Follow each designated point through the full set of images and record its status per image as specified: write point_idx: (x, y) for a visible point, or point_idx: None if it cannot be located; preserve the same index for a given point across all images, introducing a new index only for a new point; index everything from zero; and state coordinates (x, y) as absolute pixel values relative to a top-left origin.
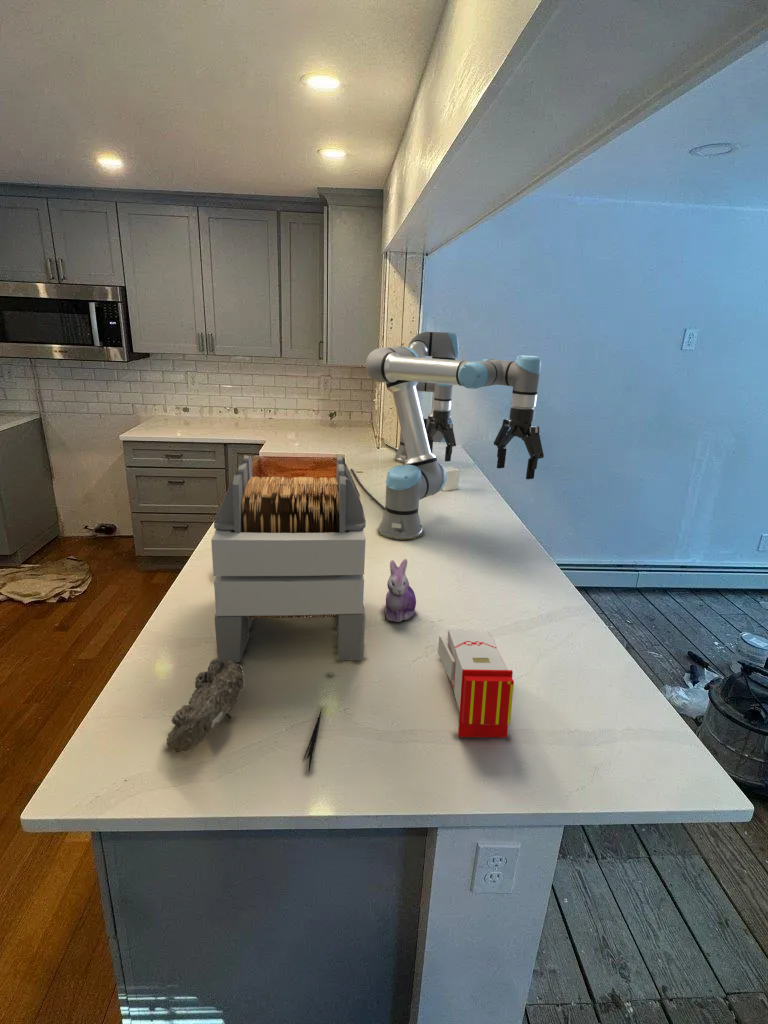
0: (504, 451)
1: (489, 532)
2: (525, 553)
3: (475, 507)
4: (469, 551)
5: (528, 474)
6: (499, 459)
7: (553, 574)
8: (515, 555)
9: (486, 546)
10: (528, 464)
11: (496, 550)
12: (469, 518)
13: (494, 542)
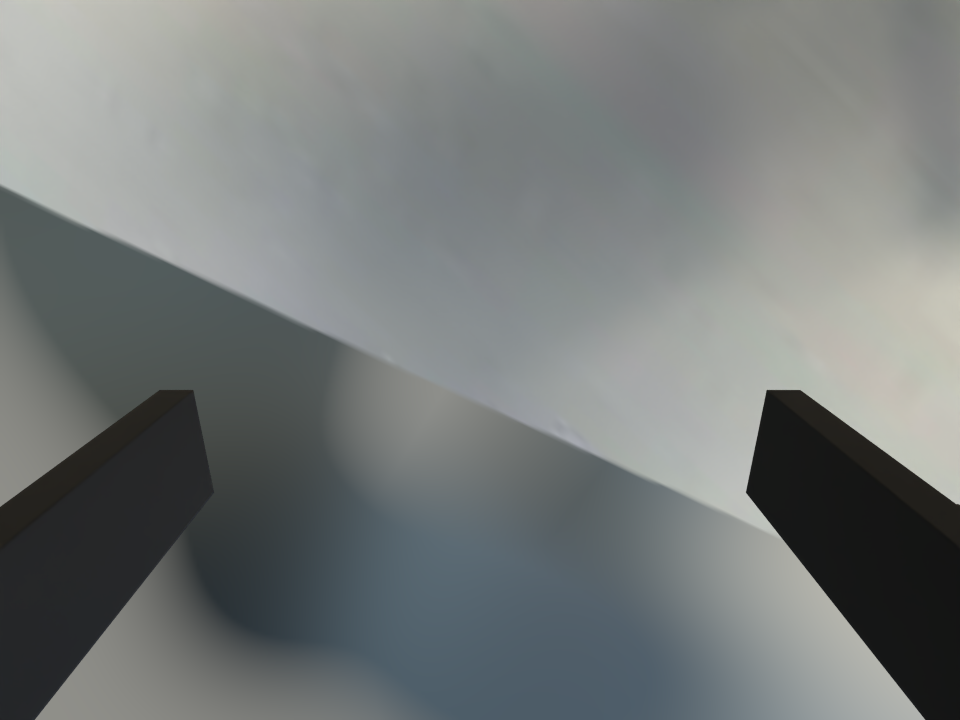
0: (939, 678)
1: (667, 317)
2: (389, 297)
3: (944, 474)
4: (530, 35)
5: (113, 429)
6: (854, 468)
7: (157, 247)
8: (389, 236)
9: (539, 176)
10: (2, 523)
11: (476, 190)
12: (862, 350)
13: (558, 252)
